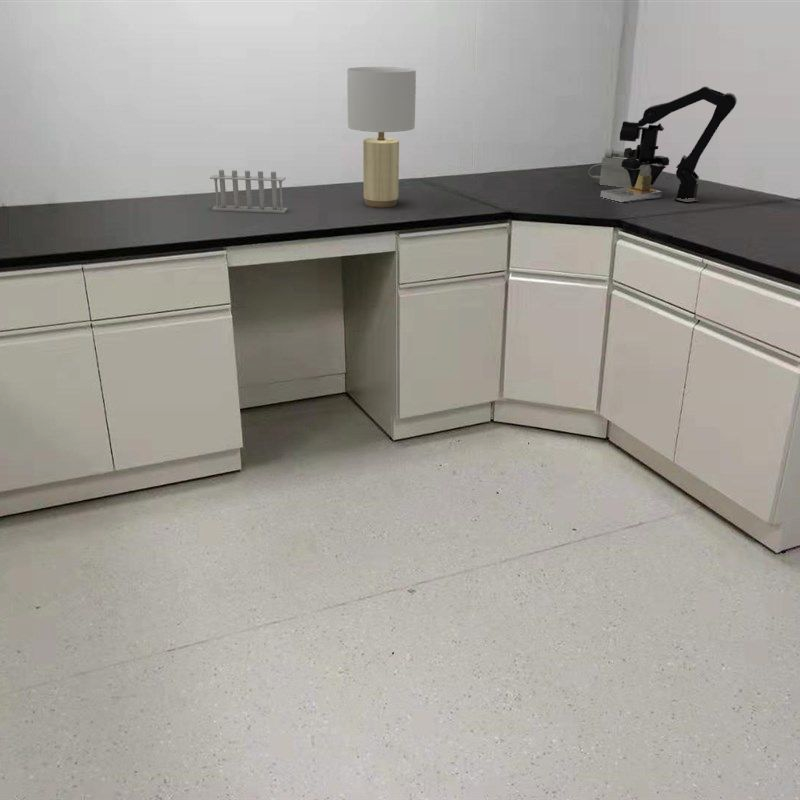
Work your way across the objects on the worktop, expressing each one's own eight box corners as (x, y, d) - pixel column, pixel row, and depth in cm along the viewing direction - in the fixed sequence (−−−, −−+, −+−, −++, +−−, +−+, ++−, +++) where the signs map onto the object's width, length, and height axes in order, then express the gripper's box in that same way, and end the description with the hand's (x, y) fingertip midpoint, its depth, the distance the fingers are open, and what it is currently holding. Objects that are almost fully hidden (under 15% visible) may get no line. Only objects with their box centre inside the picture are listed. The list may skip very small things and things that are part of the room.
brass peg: (640, 195, 314) (643, 173, 310) (648, 197, 311) (651, 175, 307) (633, 196, 312) (636, 174, 309) (640, 198, 309) (643, 176, 306)
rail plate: (640, 192, 318) (641, 185, 317) (661, 198, 309) (662, 190, 308) (600, 197, 309) (601, 189, 308) (620, 203, 301) (621, 195, 299)
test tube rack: (212, 210, 282) (208, 170, 276) (215, 207, 286) (212, 168, 280) (284, 213, 280) (282, 173, 274) (287, 210, 284) (285, 170, 278)
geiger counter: (656, 153, 317) (594, 146, 329) (651, 155, 312) (588, 148, 324) (651, 190, 323) (589, 182, 335) (646, 192, 318) (584, 184, 330)
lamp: (420, 200, 301) (424, 68, 281) (401, 214, 281) (404, 73, 262) (361, 195, 307) (361, 65, 287) (339, 208, 287) (336, 70, 268)
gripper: (651, 137, 313) (645, 179, 320) (613, 141, 305) (608, 184, 312) (673, 142, 305) (666, 185, 311) (635, 145, 296) (629, 189, 303)
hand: (642, 185), depth 310 cm, fingers open, 9 cm apart
